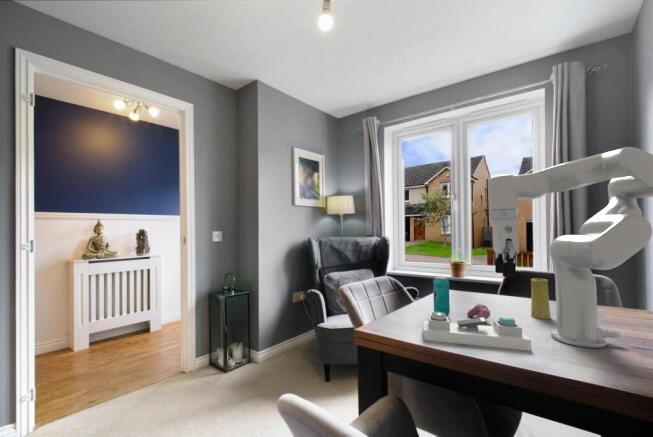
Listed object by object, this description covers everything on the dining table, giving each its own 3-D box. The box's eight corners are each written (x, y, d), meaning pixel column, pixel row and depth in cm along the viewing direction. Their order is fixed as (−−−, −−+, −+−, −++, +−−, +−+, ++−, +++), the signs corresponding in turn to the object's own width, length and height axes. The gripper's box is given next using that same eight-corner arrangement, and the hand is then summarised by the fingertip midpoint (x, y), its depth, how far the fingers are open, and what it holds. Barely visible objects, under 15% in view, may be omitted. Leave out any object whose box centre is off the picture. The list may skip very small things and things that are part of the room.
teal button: (512, 325, 88) (512, 317, 89) (516, 329, 85) (516, 321, 85) (497, 324, 90) (497, 316, 90) (501, 328, 86) (500, 319, 86)
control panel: (519, 338, 90) (518, 320, 91) (531, 350, 81) (530, 330, 81) (423, 329, 99) (423, 313, 99) (424, 340, 89) (423, 321, 89)
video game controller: (485, 329, 104) (494, 311, 104) (472, 322, 105) (482, 305, 105) (477, 320, 114) (485, 304, 113) (465, 314, 115) (473, 298, 114)
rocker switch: (485, 320, 91) (484, 317, 91) (487, 324, 87) (486, 320, 87) (457, 324, 93) (456, 320, 93) (459, 327, 89) (458, 323, 90)
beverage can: (432, 313, 118) (431, 276, 119) (447, 314, 117) (446, 276, 118) (435, 317, 112) (434, 278, 113) (451, 318, 112) (450, 278, 112)
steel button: (444, 320, 94) (444, 312, 94) (446, 323, 90) (445, 315, 90) (431, 319, 95) (431, 311, 95) (432, 322, 92) (432, 314, 92)
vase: (531, 313, 117) (529, 277, 117) (550, 316, 113) (549, 279, 114) (530, 317, 112) (529, 279, 113) (551, 320, 108) (549, 281, 109)
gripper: (527, 214, 79) (530, 280, 79) (509, 217, 96) (510, 271, 95) (496, 215, 82) (498, 278, 81) (483, 217, 98) (485, 270, 97)
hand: (505, 274), depth 88 cm, fingers open, 7 cm apart
